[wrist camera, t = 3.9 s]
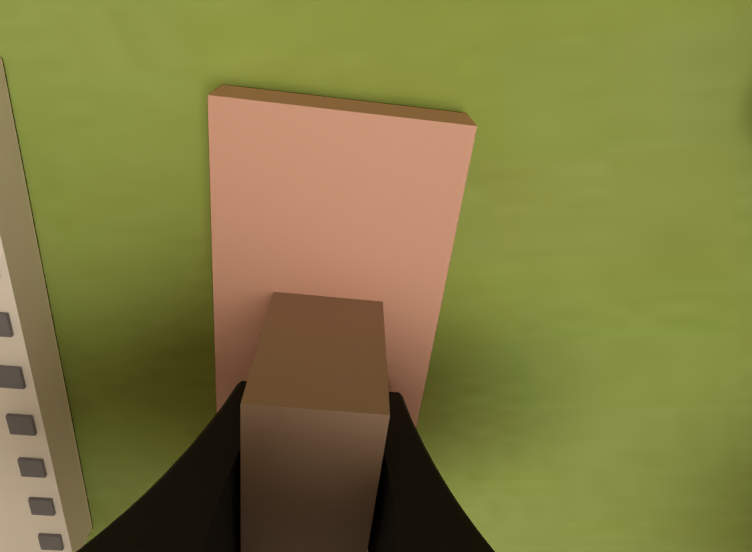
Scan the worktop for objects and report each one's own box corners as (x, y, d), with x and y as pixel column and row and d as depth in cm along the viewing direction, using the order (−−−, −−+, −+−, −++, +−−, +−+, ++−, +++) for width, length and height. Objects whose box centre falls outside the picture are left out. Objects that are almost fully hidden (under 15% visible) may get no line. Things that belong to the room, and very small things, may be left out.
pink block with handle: (383, 547, 18) (390, 721, 13) (229, 538, 17) (186, 715, 13) (466, 113, 11) (528, 188, 7) (222, 84, 11) (133, 145, 7)
